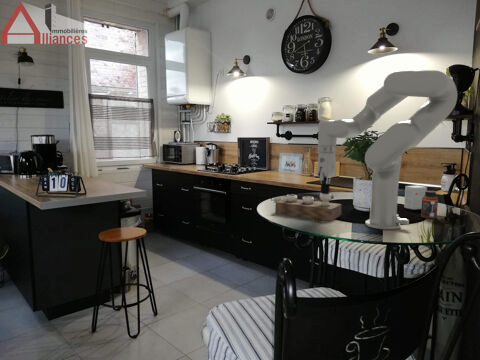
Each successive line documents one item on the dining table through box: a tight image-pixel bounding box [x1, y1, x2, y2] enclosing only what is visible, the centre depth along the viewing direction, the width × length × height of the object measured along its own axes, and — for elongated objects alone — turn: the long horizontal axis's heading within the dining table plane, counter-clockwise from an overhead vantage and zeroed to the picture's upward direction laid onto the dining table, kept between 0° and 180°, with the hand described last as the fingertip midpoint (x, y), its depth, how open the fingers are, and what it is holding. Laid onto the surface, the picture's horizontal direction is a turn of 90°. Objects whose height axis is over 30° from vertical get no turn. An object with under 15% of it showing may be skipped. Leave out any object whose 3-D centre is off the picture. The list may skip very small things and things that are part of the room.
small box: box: [403, 185, 428, 210], centre depth 167 cm, size 8×6×10 cm
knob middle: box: [302, 195, 315, 204], centre depth 154 cm, size 5×5×7 cm
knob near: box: [319, 192, 332, 206], centre depth 149 cm, size 5×5×7 cm
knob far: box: [285, 194, 298, 202], centre depth 159 cm, size 5×5×7 cm
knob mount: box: [274, 198, 342, 222], centre depth 155 cm, size 26×12×5 cm, turn 55°
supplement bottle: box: [420, 190, 439, 220], centre depth 147 cm, size 6×6×11 cm
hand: (325, 192), depth 149 cm, fingers closed
